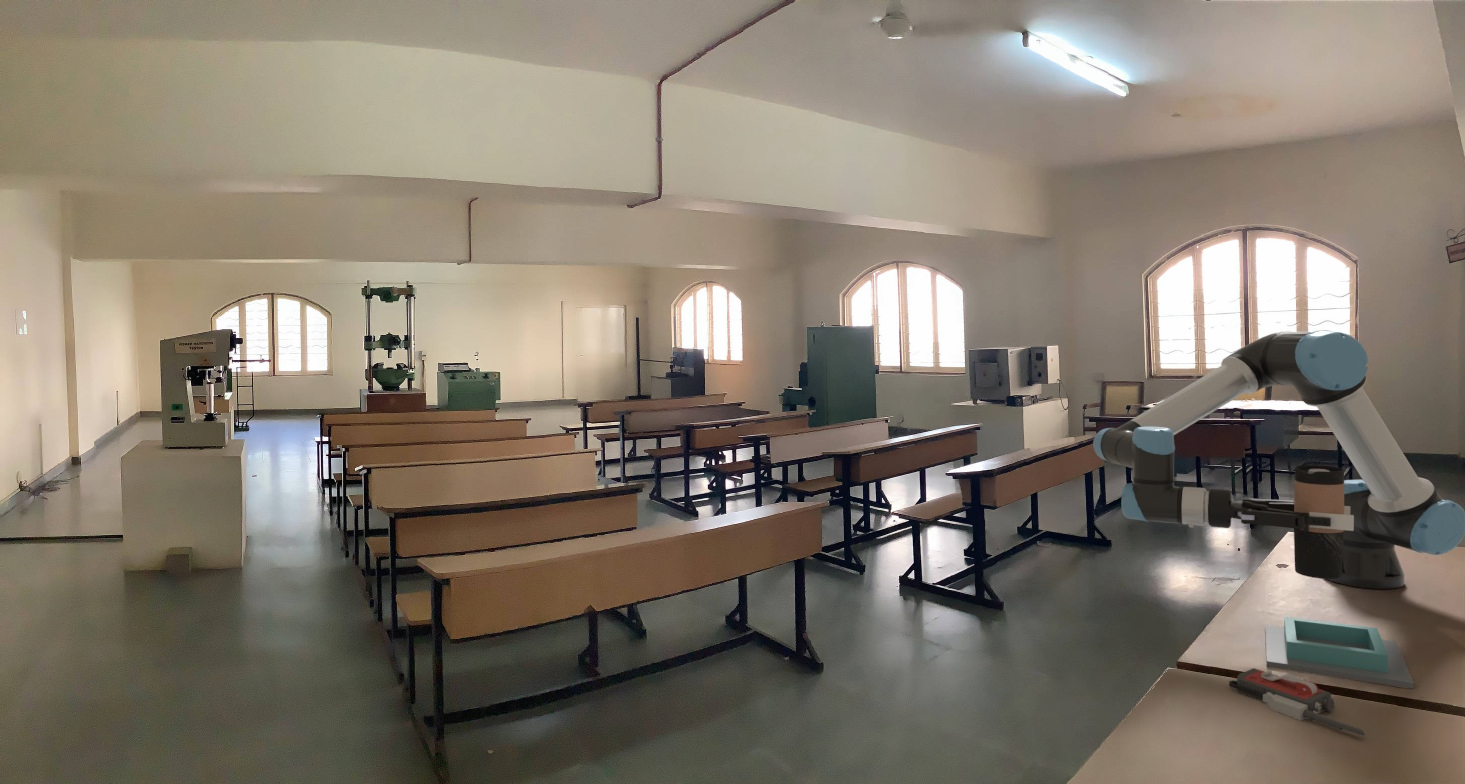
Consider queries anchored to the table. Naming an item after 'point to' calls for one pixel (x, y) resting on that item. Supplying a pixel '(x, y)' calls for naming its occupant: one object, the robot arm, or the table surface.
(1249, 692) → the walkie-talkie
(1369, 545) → the robot arm
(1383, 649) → the mug dock
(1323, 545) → the travel mug
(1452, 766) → the table surface
